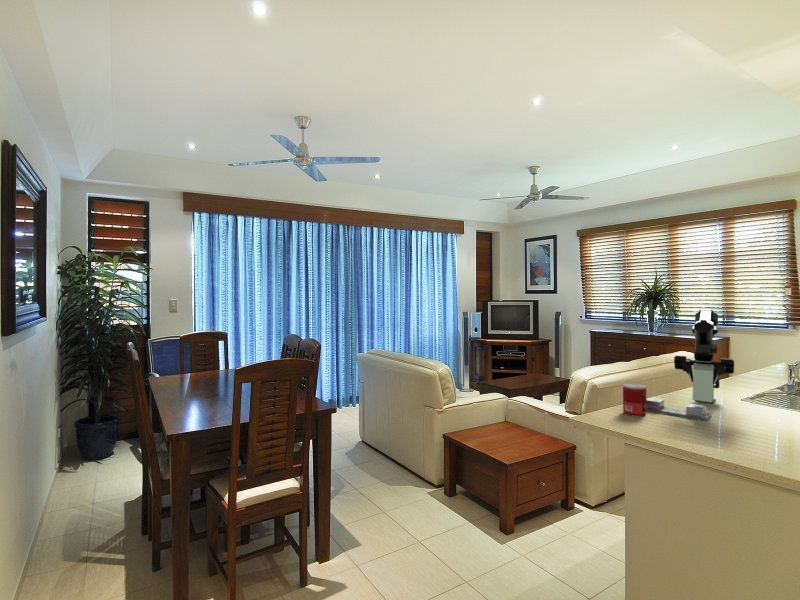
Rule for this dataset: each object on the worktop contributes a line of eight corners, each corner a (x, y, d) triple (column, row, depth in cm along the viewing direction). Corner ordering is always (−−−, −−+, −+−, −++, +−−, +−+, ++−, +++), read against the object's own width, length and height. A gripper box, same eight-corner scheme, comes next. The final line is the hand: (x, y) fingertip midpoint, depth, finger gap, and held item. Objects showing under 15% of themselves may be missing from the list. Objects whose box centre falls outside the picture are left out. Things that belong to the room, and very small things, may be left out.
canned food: (648, 417, 167) (648, 388, 167) (624, 415, 170) (624, 386, 170) (644, 411, 175) (644, 383, 174) (621, 410, 177) (621, 382, 177)
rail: (647, 406, 183) (647, 396, 183) (711, 416, 167) (711, 406, 167) (640, 409, 177) (640, 399, 177) (706, 421, 161) (706, 410, 161)
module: (693, 397, 169) (694, 363, 169) (712, 399, 166) (713, 365, 165) (692, 399, 165) (693, 365, 165) (712, 402, 162) (713, 367, 161)
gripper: (674, 334, 173) (672, 367, 165) (734, 337, 163) (735, 372, 154) (675, 352, 180) (673, 384, 171) (733, 356, 169) (734, 390, 161)
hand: (702, 382), depth 164 cm, fingers closed on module, 6 cm apart
